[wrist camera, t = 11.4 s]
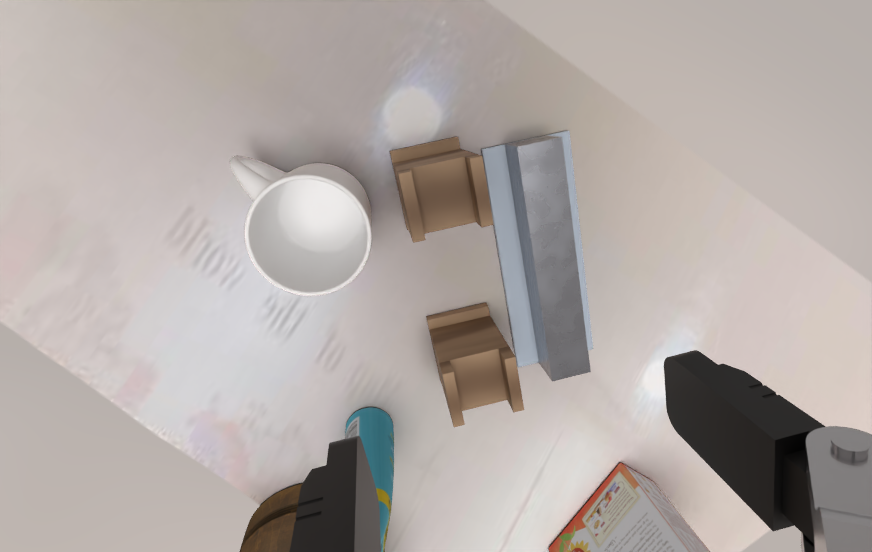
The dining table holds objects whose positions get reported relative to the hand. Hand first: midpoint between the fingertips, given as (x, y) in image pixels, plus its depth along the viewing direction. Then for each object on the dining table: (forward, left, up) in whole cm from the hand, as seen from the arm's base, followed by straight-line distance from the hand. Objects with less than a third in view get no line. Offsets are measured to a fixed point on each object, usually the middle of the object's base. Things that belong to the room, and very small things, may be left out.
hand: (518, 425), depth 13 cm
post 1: (-2, +2, -35) cm, 35 cm away
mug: (-3, -9, -35) cm, 36 cm away
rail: (+7, +11, -34) cm, 37 cm away
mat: (+7, +11, -35) cm, 37 cm away
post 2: (+14, +2, -35) cm, 38 cm away
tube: (+21, -9, -35) cm, 42 cm away
